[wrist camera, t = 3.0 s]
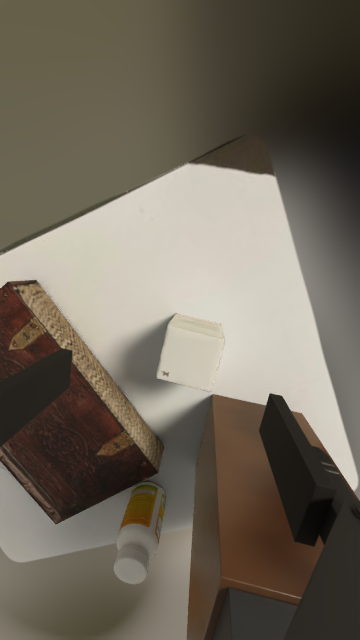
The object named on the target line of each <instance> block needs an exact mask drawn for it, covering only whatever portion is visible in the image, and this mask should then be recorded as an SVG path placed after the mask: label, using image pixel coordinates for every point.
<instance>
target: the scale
mask: <svg viewBox="0 0 360 640" xmlns="http://www.w3.org/2000/svg"><path fill="white" fill-rule="evenodd" d="M297 607H298V605H294V604H290V603H287V602H283V601H279V600H276V599H272V598H268V597H264V596H261V595H257V594H253V593H249V592H246V591H242V590H238V589H235V588H231V587H228V590H227V593H226V596H225V599H224V603H223V606H222V609H221V613H220V616H219V619H218V622H217V626H216V629H215V632H214V635H213V639H212V640H283V639H284V637H285V635H286V633H287V630H288V628H289V626H290V623H291V621H292V619H293V616H294V614H295V612H296V610H297Z"/></svg>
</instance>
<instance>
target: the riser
mask: <svg viewBox="0 0 360 640" xmlns="http://www.w3.org/2000/svg"><path fill="white" fill-rule="evenodd" d="M265 408H266V406H265V405H260V404H256V403H251V402H246V401H242V400H237V399H232V398H228V397H223V396H219V395H214V394H213V395H212V399H211V403H210V408H209V412H208V416H207V421H206V425H205V429H204V434H203V438H202V443H201V447H200V451H199V456H198V460H197V465H196V476H195V494H194V513H193V531H192V550H191V569H190V588H189V605H188V624H187V640H212V639H213V635H214V632H215V629H216V626H217V622H218V619H219V616H220V613H221V609H222V606H223V603H224V599H225V596H226V593H227V590H228V587H231V588H235V589H238V590H242V591H246V592H249V593H253V594H257V595H261V596H264V597H268V598H272V599H276V600H279V601H283V602H287V603H290V604H294V605H299V603H300V600H301V598H302V596H303V593H304V591H305V589H306V587H307V584H308V582H309V580H310V577H311V575H312V573H313V570H314V568H315V566H316V564H317V561H318V559H319V557H320V554H321V552H322V550H323V547H324V544H323V542H322V540H321V537H320V535H319V537H318V539H317V542H316V544H315V547H313V546H309V545H305V544H301V543H297V542H294V539H293V535H292V532H291V529H290V526H289V523H288V520H287V517H286V514H285V511H284V507H283V504H282V501H281V498H280V495H279V492H278V489H277V486H276V483H275V479H274V476H273V473H272V470H271V467H270V464H269V461H268V458H267V455H266V451H265V448H264V445H263V442H262V439H261V436H260V433H259V428H260V425H261V422H262V418H263V415H264V411H265ZM291 412H292V414H293V415H294V417H295V419H296V421H297V422H298V424H299V426H300V427H301V429H302V431H303V432H304V434H305V436H306V437H307V439H308V441H309V442H310V444H311V446H315V447H319V448H320V449H321V450H323V451H324V452H325V453H326V454H327V455H328V456H329V458H330V459H331V461H332V462H333V464H334V465H335V467H336V468H337V470H338V471H339V473H340V475H341V476H342V477H343V479H344V481H345V482H346V484H347V485H348V487H349V488H350V490H351V491H352V493H353V494H354V496H355V497H356V499H357V500H358V501H359V499H358V498H357V496H356V495H355V493H354V492H353V490H352V489H351V487H350V486H349V484H348V483H347V481H346V480H345V478H344V476H343V475H342V473H341V472H340V470H339V469H338V467H337V466H336V464H335V463H334V461H333V460H332V458H331V457H330V455H329V454H328V452H327V451H326V449H325V448H324V446H323V445H322V443H321V442H320V440H319V439H318V437H317V436H316V434H315V432H314V431H313V429H312V428H311V426H310V425H309V423H308V422H307V420H306V419H305V417H304V416H303V414H302V413H297V412H293V411H291Z"/></svg>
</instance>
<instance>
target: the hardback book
mask: <svg viewBox="0 0 360 640" xmlns="http://www.w3.org/2000/svg"><path fill="white" fill-rule="evenodd" d="M61 348H64V349H68V350H73V354H72V365H71V377H70V388H68V389H67V390H66V391H65V392H64V393H63V394H61V395H60V396H59V397H58V398H57V399H56V400H54V401H53V402H52V403H51V404H50V405H49V406H48V407H46V408H45V409H44V410H43V411H42V412H41V413H39V414H38V415H37V416H36V417H35V418H34V419H32V420H31V421H30V422H29V423H28V424H27V425H26V426H24V427H23V428H22V429H21V430H20V431H19V432H17V433H16V434H15V435H14V436H13V437H12V438H10V439H9V440H8V441H7V442H6V443H5V444H4V445H2V446H1V447H0V461H1V462H2V463H3V465H4V466H5V467H6V468H7V469H8V470H9V471H10V473H11V474H12V475H13V476H14V477H15V478H16V479H17V481H18V482H19V483H20V484H21V485H22V486H23V487H24V489H25V490H26V491H27V492H28V493H29V494H30V495H31V497H32V498H33V499H34V500H35V501H36V502H37V503H38V505H39V506H40V507H41V508H42V509H43V510H44V512H45V513H46V514H47V515H48V516H49V517H50V518H51V520H52V521H53V522H54V523H55V524H58V523H60V522H62V521H64V520H66V519H68V518H70V517H72V516H74V515H76V514H78V513H80V512H82V511H84V510H86V509H88V508H90V507H92V506H94V505H96V504H98V503H100V502H102V501H103V500H105V499H107V498H109V497H111V496H113V495H115V494H117V493H119V492H121V491H123V490H125V489H127V488H129V487H131V486H133V485H135V484H137V483H139V482H141V481H143V480H145V479H147V478H149V477H151V476H153V475H155V474H157V473H158V471H159V466H160V462H161V458H162V453H163V449H164V446H163V445H162V443H161V442H160V441H159V440H158V438H157V437H156V436H155V434H154V433H153V432H152V430H151V429H150V428H149V427H148V425H147V424H146V423H145V421H144V420H143V419H142V417H141V416H140V415H139V414H138V412H137V411H136V410H135V408H134V407H133V406H132V404H131V403H130V402H129V400H128V399H127V398H126V397H125V395H124V394H123V393H122V391H121V390H120V389H119V387H118V386H117V385H116V384H115V382H114V381H113V380H112V378H111V377H110V376H109V374H108V373H107V372H106V371H105V369H104V368H103V367H102V365H101V364H100V363H99V361H98V360H97V359H96V357H95V356H94V355H93V354H92V352H91V351H90V350H89V348H88V347H87V346H86V344H85V343H84V342H83V341H82V339H81V338H80V337H79V335H78V334H77V333H76V331H75V330H74V329H73V328H72V326H71V325H70V324H69V322H68V321H67V320H66V318H65V317H64V316H63V314H62V313H61V312H60V311H59V309H58V308H57V307H56V305H55V304H54V303H53V301H52V300H51V299H50V298H49V296H48V295H47V294H46V292H45V291H44V290H43V288H42V287H41V286H40V285H39V283H38V282H37V281H36V280H28V281H12V282H7V283H6V284H5V285H4V286H3V287H1V288H0V378H3V377H10V376H12V375H14V374H15V373H17V372H19V371H21V370H23V369H25V368H26V367H28V366H30V365H32V364H34V363H36V362H37V361H39V360H41V359H43V358H45V357H47V356H48V355H50V354H52V353H54V352H56V351H58V350H59V349H61Z"/></svg>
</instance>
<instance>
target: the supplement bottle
mask: <svg viewBox="0 0 360 640" xmlns="http://www.w3.org/2000/svg"><path fill="white" fill-rule="evenodd" d="M165 503H166V496H165V493H164V491H163V489H162V488H161V487H160V486H158V485H156V484H154V483H151V482H142V483H140V484H138V485H136V486H135V487H134V489H133V491H132V494H131V497H130V500H129V503H128V506H127V509H126V512H125V515H124V518H123V521H122V524H121V527H120V530H119V533H118V536H117V542H116V543H117V549H118V554H117V556H116V560H115V563H114V572H115V574H116V576H117V577H118V578H119V579H120V580H122V581H123V582H126V583H129V584H138V583H141V582H143V581H144V580H145V578H146V576H147V572H148V567H149V561H150V560H151V559H152V558H153V557H154V556H155V554H156V552H157V548H158V544H159V538H160V532H161V526H162V521H163V515H164V509H165Z"/></svg>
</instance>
